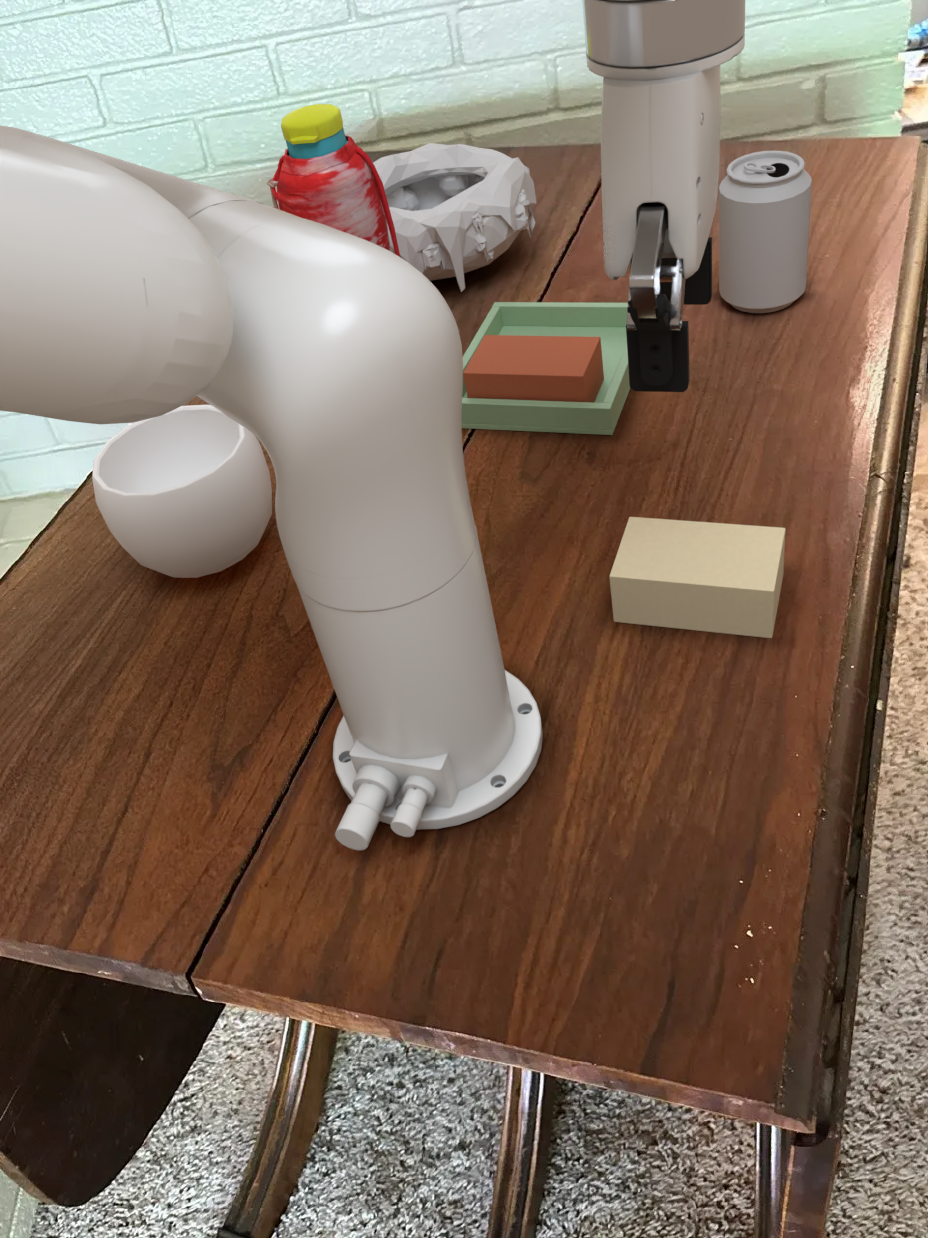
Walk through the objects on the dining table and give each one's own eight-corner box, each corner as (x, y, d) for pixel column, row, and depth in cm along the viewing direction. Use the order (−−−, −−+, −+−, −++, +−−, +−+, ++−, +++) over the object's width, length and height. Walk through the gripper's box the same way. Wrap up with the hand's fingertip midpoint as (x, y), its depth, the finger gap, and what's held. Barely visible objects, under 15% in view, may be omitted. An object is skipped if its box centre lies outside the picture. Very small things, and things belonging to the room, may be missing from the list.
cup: (121, 538, 86) (72, 437, 80) (266, 483, 89) (230, 381, 82) (149, 629, 78) (97, 524, 71) (310, 565, 80) (273, 458, 73)
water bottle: (289, 435, 93) (192, 140, 77) (318, 384, 99) (234, 99, 82) (421, 434, 90) (351, 126, 73) (444, 382, 96) (383, 84, 79)
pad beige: (772, 638, 67) (774, 591, 64) (613, 622, 70) (609, 576, 68) (783, 574, 71) (785, 527, 68) (632, 561, 74) (629, 516, 72)
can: (806, 315, 94) (814, 177, 86) (717, 319, 96) (717, 185, 88) (804, 274, 99) (811, 140, 91) (720, 279, 101) (720, 149, 93)
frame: (612, 435, 86) (610, 408, 84) (440, 427, 90) (435, 401, 89) (653, 328, 96) (652, 302, 95) (498, 326, 101) (494, 301, 100)
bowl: (307, 285, 114) (281, 191, 108) (449, 209, 123) (433, 117, 116) (434, 338, 102) (413, 235, 95) (583, 248, 110) (573, 149, 103)
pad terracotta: (587, 419, 87) (583, 376, 84) (470, 414, 90) (462, 372, 87) (604, 379, 91) (600, 336, 88) (491, 375, 94) (484, 334, 91)
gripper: (618, -23, 58) (634, 274, 70) (545, 91, 47) (578, 425, 58) (762, -38, 56) (754, 272, 68) (722, 78, 44) (720, 429, 56)
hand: (672, 343), depth 63 cm, fingers open, 9 cm apart
